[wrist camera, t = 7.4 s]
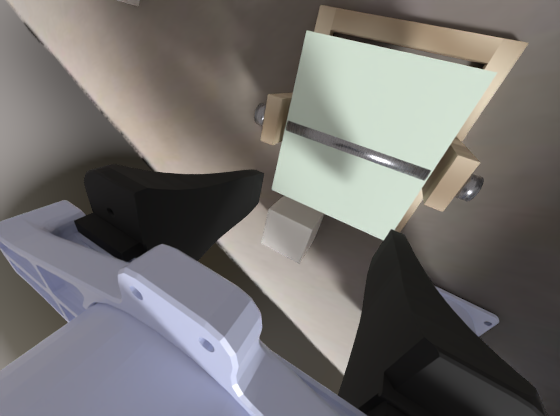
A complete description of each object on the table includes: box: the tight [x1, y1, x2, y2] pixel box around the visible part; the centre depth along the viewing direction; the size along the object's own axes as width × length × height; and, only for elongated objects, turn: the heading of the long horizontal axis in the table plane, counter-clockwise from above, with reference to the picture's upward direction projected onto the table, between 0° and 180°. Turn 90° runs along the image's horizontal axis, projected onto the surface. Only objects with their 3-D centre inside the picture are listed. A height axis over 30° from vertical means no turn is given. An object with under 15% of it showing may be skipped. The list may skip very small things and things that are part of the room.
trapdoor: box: [272, 31, 497, 241], centre depth 14 cm, size 10×9×2 cm
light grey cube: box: [261, 196, 324, 264], centre depth 24 cm, size 4×4×4 cm
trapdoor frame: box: [255, 5, 528, 233], centre depth 16 cm, size 14×14×7 cm
